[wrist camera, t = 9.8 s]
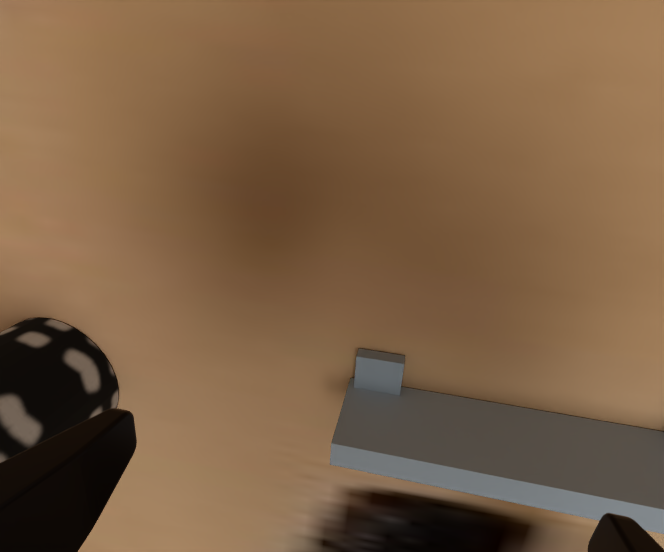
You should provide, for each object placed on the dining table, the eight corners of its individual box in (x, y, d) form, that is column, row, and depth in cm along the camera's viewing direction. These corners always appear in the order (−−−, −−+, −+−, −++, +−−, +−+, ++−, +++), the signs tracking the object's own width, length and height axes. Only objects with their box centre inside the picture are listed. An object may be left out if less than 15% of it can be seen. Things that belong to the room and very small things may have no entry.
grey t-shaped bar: (745, 409, 20) (840, 501, 15) (703, 491, 21) (777, 595, 17) (353, 347, 23) (334, 407, 18) (346, 423, 25) (327, 495, 20)
